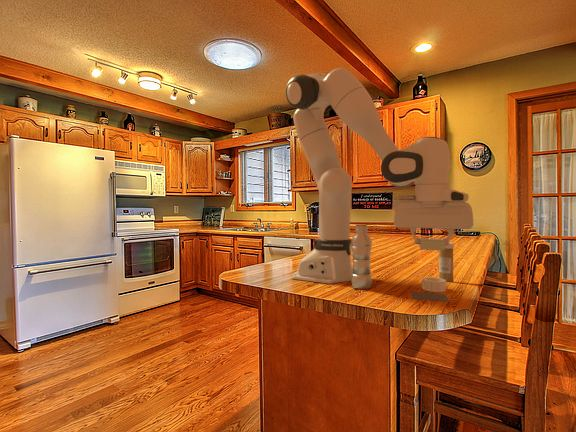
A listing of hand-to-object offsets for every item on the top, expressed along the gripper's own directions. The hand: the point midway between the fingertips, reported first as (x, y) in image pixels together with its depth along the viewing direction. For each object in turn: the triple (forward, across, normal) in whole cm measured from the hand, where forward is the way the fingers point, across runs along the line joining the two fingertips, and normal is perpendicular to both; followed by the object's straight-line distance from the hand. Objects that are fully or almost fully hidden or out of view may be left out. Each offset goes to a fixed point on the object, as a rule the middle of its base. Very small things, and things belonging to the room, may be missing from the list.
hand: (431, 244), depth 88 cm
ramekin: (+15, +1, +7) cm, 16 cm away
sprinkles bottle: (+15, +6, +21) cm, 26 cm away
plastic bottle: (+15, -20, +3) cm, 25 cm away
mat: (+15, -1, -2) cm, 15 cm away
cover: (+1, 0, 0) cm, 1 cm away
